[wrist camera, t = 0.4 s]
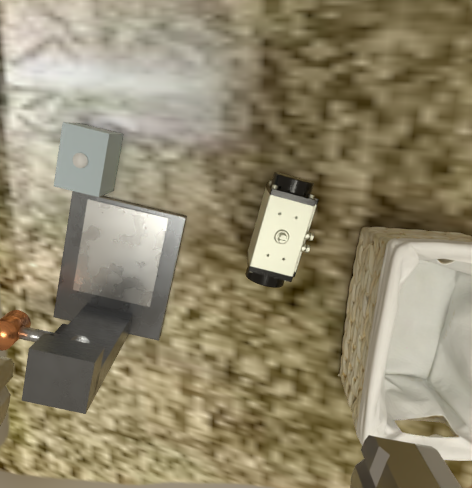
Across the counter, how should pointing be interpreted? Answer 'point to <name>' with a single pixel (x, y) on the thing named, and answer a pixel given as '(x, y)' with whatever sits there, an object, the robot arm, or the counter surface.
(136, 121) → the counter surface
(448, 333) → the storage basket
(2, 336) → the lever
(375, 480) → the robot arm
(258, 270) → the pneumatic valve
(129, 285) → the press
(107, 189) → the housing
